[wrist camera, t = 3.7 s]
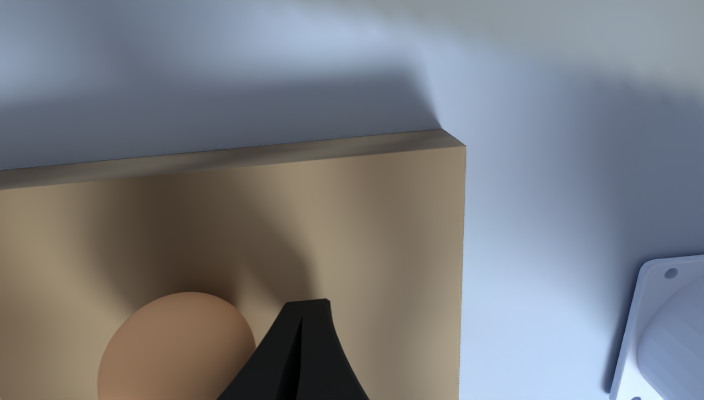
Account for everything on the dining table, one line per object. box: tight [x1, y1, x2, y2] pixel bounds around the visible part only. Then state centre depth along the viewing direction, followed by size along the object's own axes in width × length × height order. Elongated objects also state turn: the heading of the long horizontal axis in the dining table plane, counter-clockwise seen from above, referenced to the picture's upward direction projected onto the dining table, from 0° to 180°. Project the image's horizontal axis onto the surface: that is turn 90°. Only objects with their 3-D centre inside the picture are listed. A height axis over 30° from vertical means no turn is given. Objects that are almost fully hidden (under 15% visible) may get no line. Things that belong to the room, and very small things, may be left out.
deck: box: [0, 129, 466, 400], centre depth 13 cm, size 24×10×2 cm, turn 95°
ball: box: [97, 292, 256, 400], centre depth 10 cm, size 4×4×4 cm
